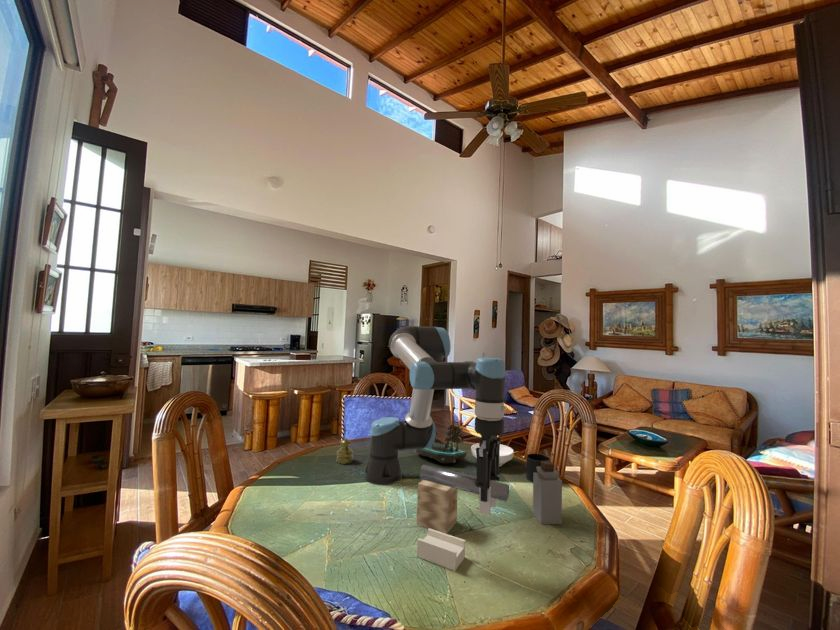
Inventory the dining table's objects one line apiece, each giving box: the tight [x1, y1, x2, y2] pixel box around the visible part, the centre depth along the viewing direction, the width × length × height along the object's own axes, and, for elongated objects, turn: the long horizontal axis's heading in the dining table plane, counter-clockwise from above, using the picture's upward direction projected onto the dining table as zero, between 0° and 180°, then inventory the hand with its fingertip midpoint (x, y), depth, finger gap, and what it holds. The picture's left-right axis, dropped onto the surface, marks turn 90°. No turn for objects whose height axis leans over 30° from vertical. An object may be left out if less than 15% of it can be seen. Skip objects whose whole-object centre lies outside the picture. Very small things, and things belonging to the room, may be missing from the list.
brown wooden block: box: [416, 479, 459, 534], centre depth 112 cm, size 10×8×12 cm
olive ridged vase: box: [336, 438, 354, 465], centre depth 164 cm, size 7×7×10 cm
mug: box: [525, 453, 551, 483], centre depth 149 cm, size 9×12×9 cm
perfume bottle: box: [532, 460, 563, 525], centre depth 118 cm, size 7×7×18 cm
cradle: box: [416, 528, 466, 572], centre depth 95 cm, size 11×7×4 cm, turn 61°
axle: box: [419, 464, 510, 502], centre depth 96 cm, size 24×4×4 cm, turn 62°
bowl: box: [470, 442, 515, 468], centre depth 166 cm, size 20×20×7 cm
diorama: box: [414, 422, 467, 465], centre depth 173 cm, size 19×25×19 cm
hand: (487, 509), depth 92 cm, fingers closed on axle, 4 cm apart
